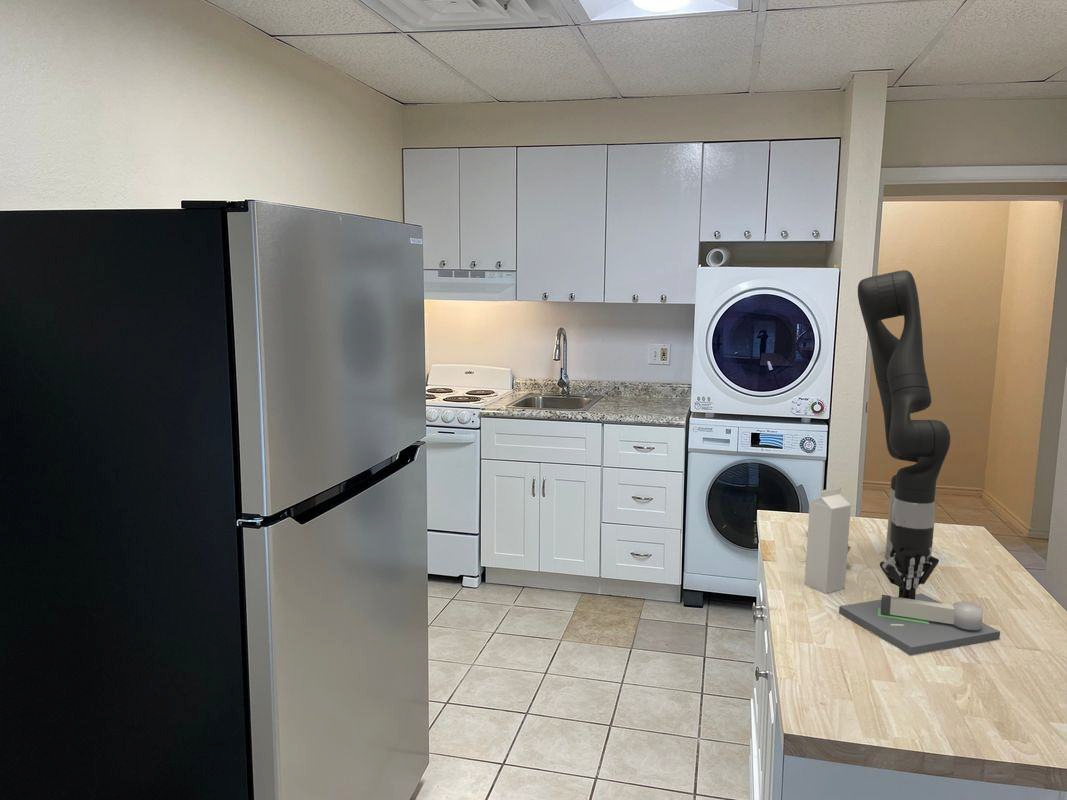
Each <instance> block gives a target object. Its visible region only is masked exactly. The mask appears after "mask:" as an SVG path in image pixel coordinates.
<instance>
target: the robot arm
mask: <svg viewBox="0 0 1067 800" xmlns="http://www.w3.org/2000/svg"><path fill="white" fill-rule="evenodd" d="M857 298H858V299H857V300H858V305H859V309H860V311H861V316H862V318H863V322H864V325H865V330H866V333H867V336H868V337H867V338H868V340H869V344H870V350H871V357H872V363H873V369H874V375H875V380H876V383H877V384H876V385H877V388H878V392H879V396H880V401H881V406H882V412H883V421H884V431H885V432H884V433H885V440H886V441H885V442H886V448H887V452H888V454H889V455H890V457H891V458H893V459H896V460H900V461H904V462H905V461H906V462H911V463H915V464H913V465H908V466H904V467H901V468H900V469H898V471H897V472H896V474H895V475H893V476H892V477H891V480H890V493H889V504H888V505H889V507H888V519H887V527H886V528H887V530H886V544H885V553H884V555H885V558H886V559H887V560H886V561H881V562H879V567H880V569H881V570H882V572H883V573H884V575H885V576H886V577H887V579H888V581H889V582H890V584H892V585H894V586H897V587H898V596H897V597H900V598H907V599H914V600H915V594H917V593H916V591H917V588H918V587H919V585H924V584H925V583H926V582H927V581H928V579H929V577H930V576H931V574H932V573H933V571H934V570H935V568H936V567H937V566H938V565H939V562H940V561H939V558H936V557H935V556H933V555H932V550H933V543H934V542H933V540H934V531H935V519H936V517H935V516H936V507H935V504H936V503H935V501H936V500H935V499H936V489H937V487H936V486H937V480H938V477H939V475H940V472H941V469H942V467H943V464H944V461H945V459H946V456H947V455H948V452H949V449H950V447H951V446H950V445H951V434H950V433H951V432H950V429H949V428H948V427H947V426H948V425H946V424H945V422H943V421H941V420H938V419H911V414H914V413H918V412H921V411H925V410H927V409H928V408H929V407H930V406H931V404H932V394H931V389H930V386H929V381H928V375H927V369H926V366H925V356H924V344H923V341H924V340H923V329H922V318H921V311H920V310H921V309H920V308H921V307H920V298H919V294H918V288H917V283H916V281H915V278H914V275H913V274H912V273H911V272H910V271H909V270H907V269H903V270H897V271H892V272H888V273H883V274H879V275H873V276H869V277H865V278H863V279H861V280H860V281H859V283H858V285H857ZM898 317H903V319H904V320H903V321H904V322H903V329H902V333H901V335H900V338H898V337H897V336H896V335H894V334H893V333H892V332H891V331H890V330H889V329H888V328H887V327H886V325H885V323H884V322H883V320H886V319H887V320H888V319H892V318H898Z"/></svg>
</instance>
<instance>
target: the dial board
mask: <svg viewBox="0 0 1067 800" xmlns="http://www.w3.org/2000/svg"><path fill="white" fill-rule="evenodd" d="M915 600H920V601H927V602H934V603H941V604H944V603H942V602H940V601H938V600H937V599H934V598H932V597H930V596H928V595H926V594H924V593H921V592H920V593H915ZM838 614H839V615H841V616H843V617H845V619H849V620H850V621H852V622H853V623H855V624H856V625H859V626H861V627H862V628H864V629H865V630H867V631H869V632H870V633H872V634H874V635H875V636H877V637H879V638H881V639H882V640H885V642H887V643H889V644H891V645H893V646H894V647H896V648H898V649H899V650H901V651H903V652H904V653H906V654H908V655H910V656H914V655H919V654H926V653H930V652H935V651H941V650H948V649H952V648H958V647H962V646H967V645H968V646H969V645H973V644H980V643H984V642H985V643H986V642H989V641H990V642H991V641H996V640H1000V638H1001V630H998V629H996V628H994V627H992V626H990V625H988V624H986V623H984V622H982V628H981V629H979V630H967V629H963V628H959V627H957V626H955V625H954V624H948V623H941V622H935V621H929V620H922V619H916V618H909V617H903V616H896V615H888V614H881V599H877V600H876V599H875V600H871V601H870V600H869V601H864V602H863V601H862V602H856V603H851V604H844V605H839V607H838Z"/></svg>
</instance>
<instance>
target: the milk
mask: <svg viewBox="0 0 1067 800" xmlns="http://www.w3.org/2000/svg"><path fill="white" fill-rule="evenodd" d="M851 506H852V504H850V503H849V502H848V501H847V499H846V498H845V497H844V496H843V495H842V494H841V487H834V488H829V489H823V490H821V492H820V497H818V498H816V499H814V500H811V501H809V508H808V527H807V538H806V539H807V540H806V541H807V542H806V556H805V569H804V570H805V574H804V585H805V586H808V587H810V588H811V589H814V590H817V591H819V592H822V593H823V594H829V593H833V592H837V591H841V590H844V589H845V588H846V577H847V575H846V574H847V561H848V553H847V550H848V546H849V545H848V544H849V535H850V533H849V532H850V523H851V522H850V521H851V520H850V518H851V508H852V507H851Z"/></svg>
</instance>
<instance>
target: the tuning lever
mask: <svg viewBox="0 0 1067 800" xmlns="http://www.w3.org/2000/svg"><path fill="white" fill-rule="evenodd" d="M880 600H881V614H888V615H896V616H903V617H909V618H916V619H922V620H929V621H935V622H941V623H948V624H954V625H955V626H957V627H959V628H963V629H967V630H979V629H981V628H982V623H983V619H984V618H983V617H984V608H983V607H982V606H981V605H979V604H976V603H973V602H968V601H956V602H953V605H952V604H948V603H947V604H946V603H943V604H941V603H942V602H941V603H934V602H927V601H920V600H914V599H907V598H900V597H898V596H894V595H893V596H892V595H887V594H881V599H880Z"/></svg>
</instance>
